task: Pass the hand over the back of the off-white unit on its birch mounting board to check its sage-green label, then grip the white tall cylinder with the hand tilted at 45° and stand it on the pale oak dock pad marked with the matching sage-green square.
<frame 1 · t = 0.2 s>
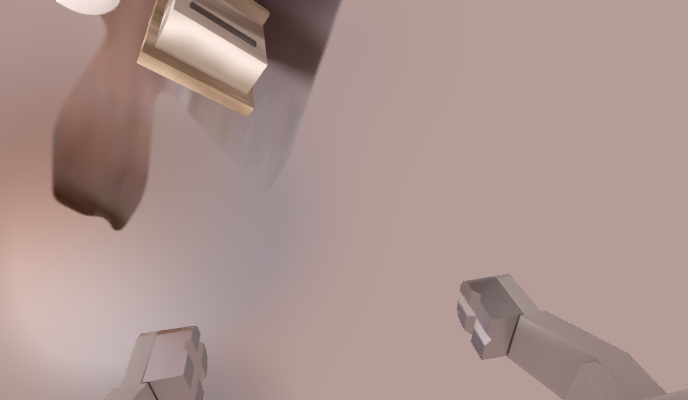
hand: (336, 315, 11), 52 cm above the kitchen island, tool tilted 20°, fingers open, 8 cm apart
mounted unit: (215, 4, 52), on the kitchen island
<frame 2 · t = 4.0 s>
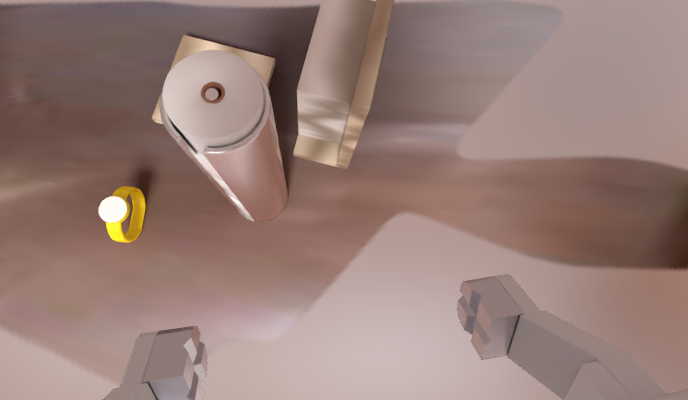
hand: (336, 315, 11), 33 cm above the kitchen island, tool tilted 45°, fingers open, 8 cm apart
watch: (138, 218, 44), on the kitchen island
white tall cylinder: (261, 196, 46), on the kitchen island
dock pad: (217, 91, 48), on the kitchen island
mounted unit: (331, 117, 49), on the kitchen island
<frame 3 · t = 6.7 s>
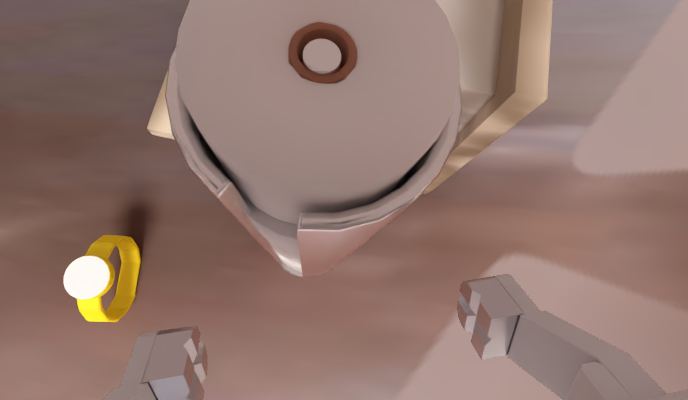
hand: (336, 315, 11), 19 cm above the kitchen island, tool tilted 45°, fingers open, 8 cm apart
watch: (130, 279, 29), on the kitchen island
white tall cylinder: (308, 238, 31), on the kitchen island
dock pad: (239, 89, 34), on the kitchen island
mounted unit: (400, 120, 35), on the kitchen island
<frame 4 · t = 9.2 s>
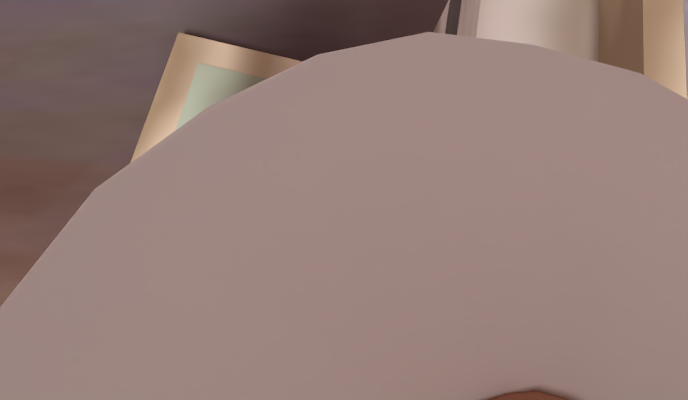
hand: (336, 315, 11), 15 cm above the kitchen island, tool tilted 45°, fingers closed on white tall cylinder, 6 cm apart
white tall cylinder: (320, 311, 26), on the kitchen island, touching gripper
dock pad: (238, 127, 28), on the kitchen island
mounted unit: (429, 163, 29), on the kitchen island
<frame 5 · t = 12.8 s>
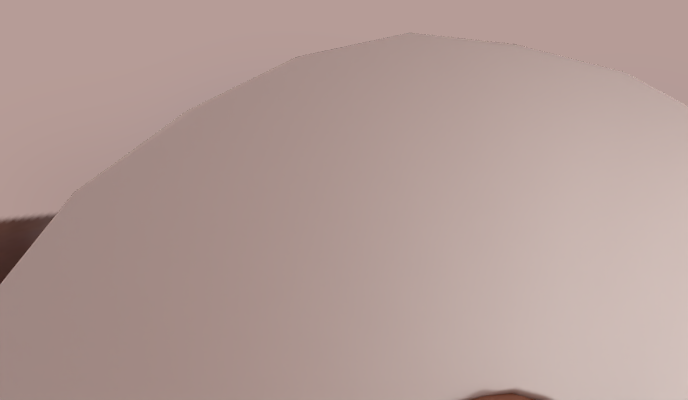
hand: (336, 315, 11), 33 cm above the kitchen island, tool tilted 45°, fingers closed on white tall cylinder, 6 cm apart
white tall cylinder: (324, 309, 26), point 18 cm above the kitchen island, touching gripper
when the fingers open (17 cm above the kitchen island, at t = 16.8 s): white tall cylinder drops 1 cm, resting on dock pad.
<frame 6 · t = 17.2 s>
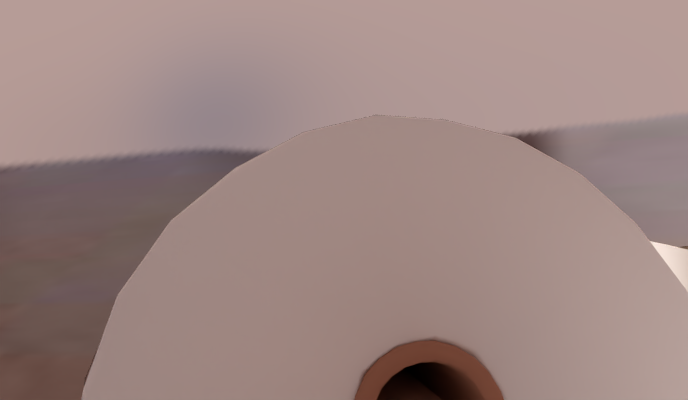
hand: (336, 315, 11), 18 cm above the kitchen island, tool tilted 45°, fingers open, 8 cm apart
white tall cylinder: (322, 309, 27), point 1 cm above the kitchen island, touching dock pad
mounted unit: (507, 340, 29), on the kitchen island
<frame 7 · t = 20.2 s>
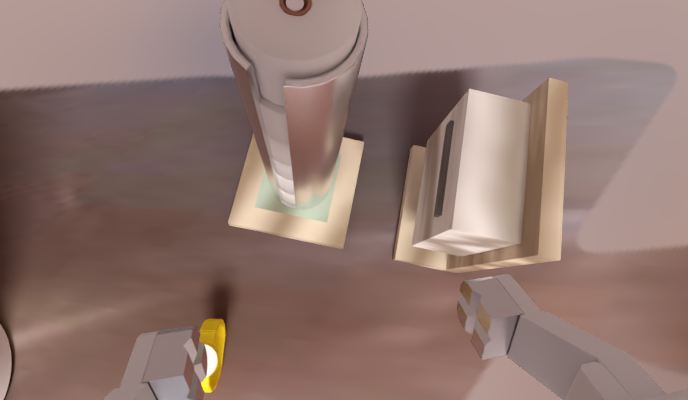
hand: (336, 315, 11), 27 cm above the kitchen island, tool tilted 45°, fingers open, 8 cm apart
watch: (217, 349, 36), on the kitchen island
white tall cylinder: (301, 180, 40), point 1 cm above the kitchen island, touching dock pad
dock pad: (299, 183, 41), on the kitchen island
mounted unit: (432, 208, 41), on the kitchen island
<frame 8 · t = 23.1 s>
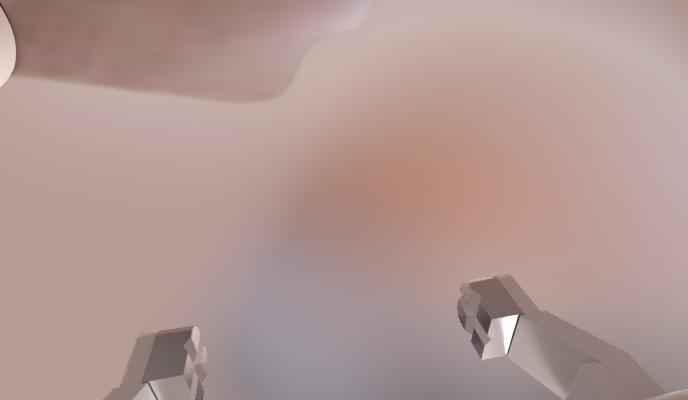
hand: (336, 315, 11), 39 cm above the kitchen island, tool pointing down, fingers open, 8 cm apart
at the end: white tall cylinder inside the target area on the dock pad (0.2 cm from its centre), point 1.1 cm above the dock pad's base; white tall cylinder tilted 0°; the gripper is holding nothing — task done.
